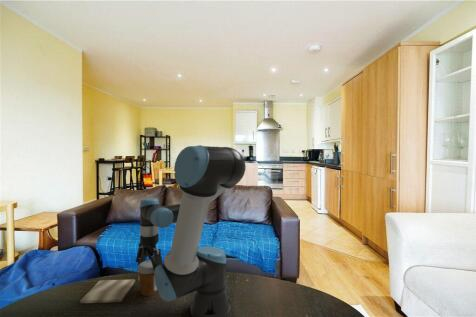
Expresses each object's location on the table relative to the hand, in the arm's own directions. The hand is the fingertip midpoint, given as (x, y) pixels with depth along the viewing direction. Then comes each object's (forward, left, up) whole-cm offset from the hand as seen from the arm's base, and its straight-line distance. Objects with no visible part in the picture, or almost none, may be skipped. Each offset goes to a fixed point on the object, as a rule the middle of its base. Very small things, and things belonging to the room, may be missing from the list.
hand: (149, 284), depth 105 cm
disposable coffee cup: (0, 0, -4) cm, 4 cm away
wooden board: (+13, +11, -3) cm, 17 cm away
